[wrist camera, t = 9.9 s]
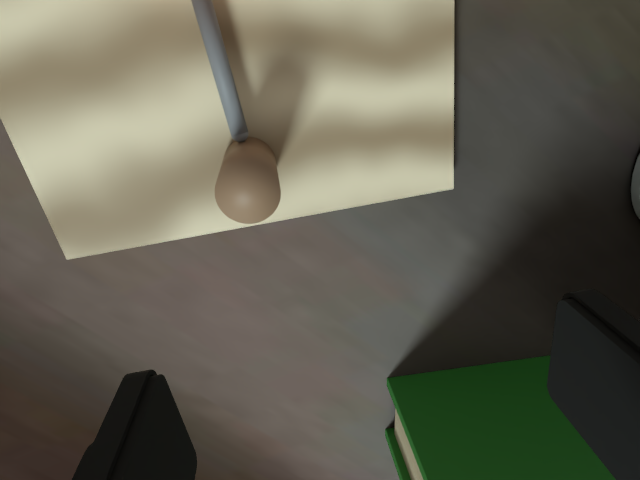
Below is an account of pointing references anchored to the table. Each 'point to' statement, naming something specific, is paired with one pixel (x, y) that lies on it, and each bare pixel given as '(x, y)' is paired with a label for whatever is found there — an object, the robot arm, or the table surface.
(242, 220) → the spoon
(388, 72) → the lane shelf
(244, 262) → the table surface
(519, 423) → the hardback book
